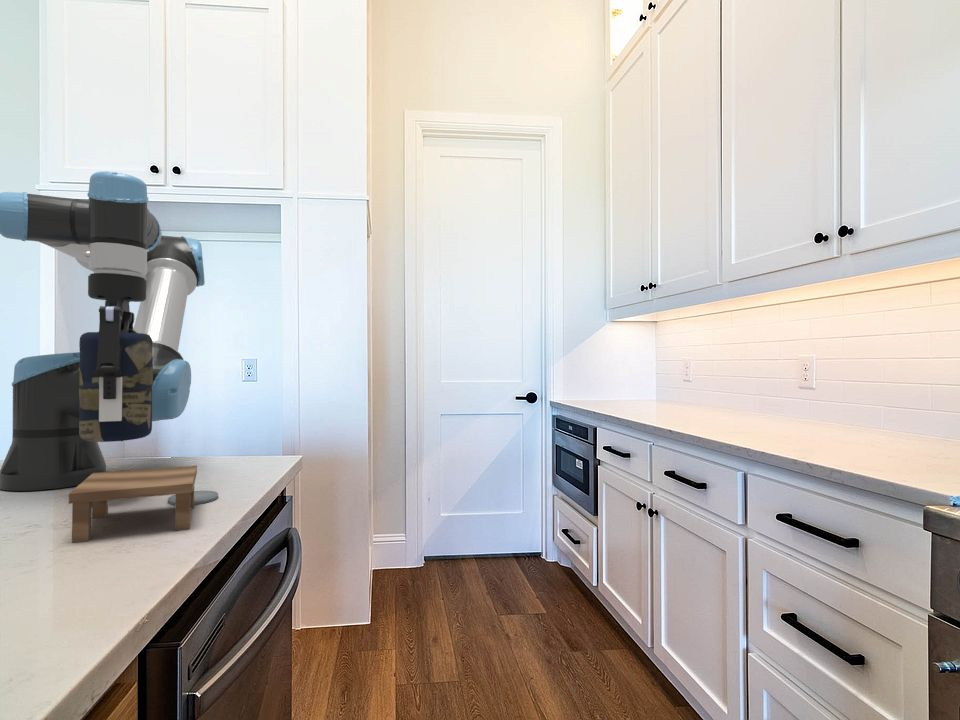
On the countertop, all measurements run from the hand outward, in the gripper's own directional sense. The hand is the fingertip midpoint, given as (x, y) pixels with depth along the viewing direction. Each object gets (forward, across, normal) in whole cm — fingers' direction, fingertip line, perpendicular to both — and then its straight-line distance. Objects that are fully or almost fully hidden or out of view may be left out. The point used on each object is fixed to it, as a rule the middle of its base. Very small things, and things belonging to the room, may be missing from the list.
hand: (116, 417), depth 82 cm
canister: (+4, 0, 0) cm, 4 cm away
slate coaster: (+13, +5, +11) cm, 18 cm away
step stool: (+13, +15, +5) cm, 20 cm away
